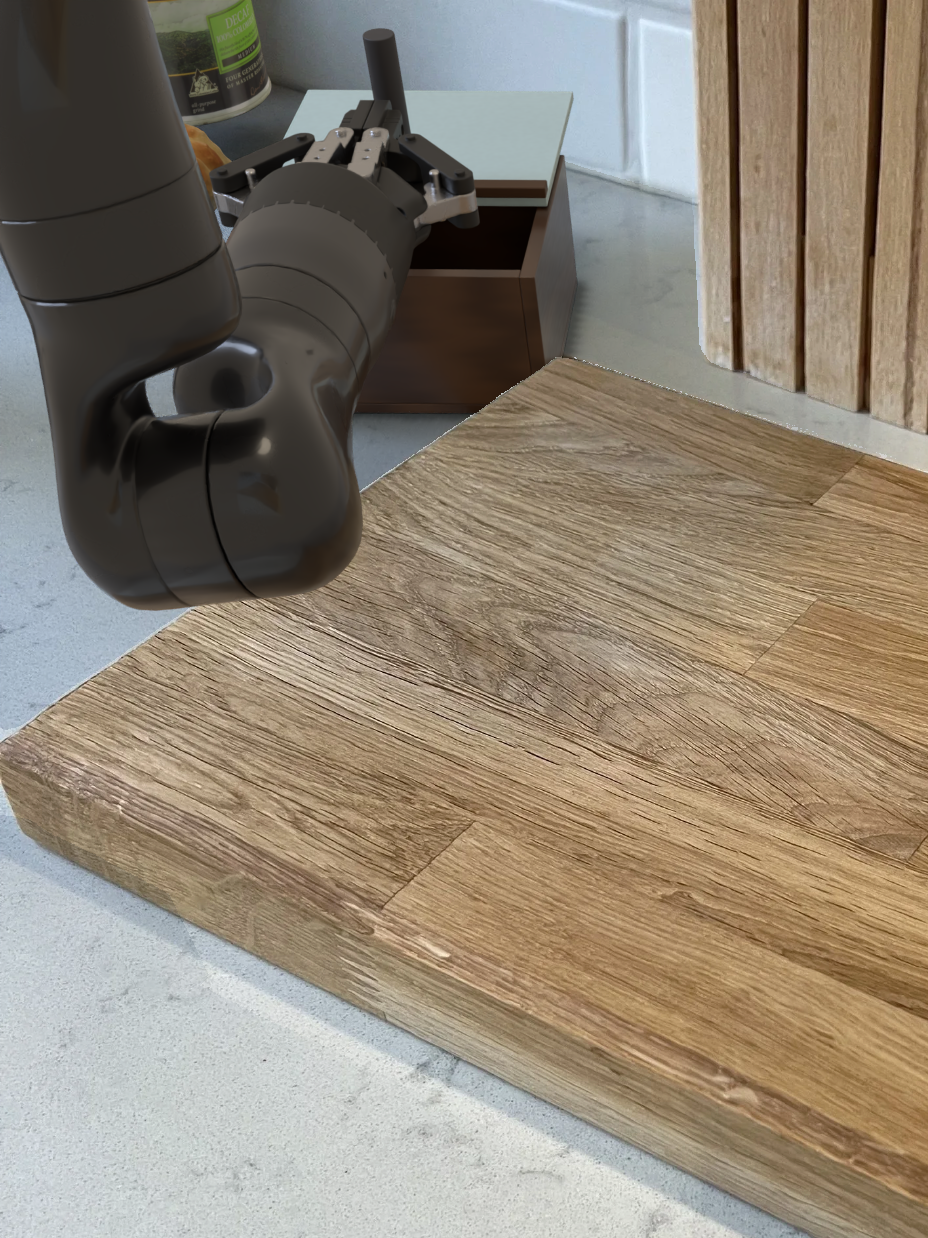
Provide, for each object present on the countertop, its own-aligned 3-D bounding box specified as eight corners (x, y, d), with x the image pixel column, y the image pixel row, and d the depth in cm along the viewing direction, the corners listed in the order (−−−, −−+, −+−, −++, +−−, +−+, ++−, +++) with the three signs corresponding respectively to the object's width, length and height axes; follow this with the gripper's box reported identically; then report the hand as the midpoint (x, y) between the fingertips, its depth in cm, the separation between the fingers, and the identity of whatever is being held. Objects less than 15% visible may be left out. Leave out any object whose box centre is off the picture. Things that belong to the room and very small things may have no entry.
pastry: (198, 255, 98) (180, 190, 96) (80, 253, 99) (59, 188, 96) (243, 179, 105) (228, 116, 102) (133, 178, 105) (114, 115, 102)
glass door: (255, 205, 93) (217, 44, 87) (309, 97, 103) (278, -55, 97) (547, 207, 93) (529, 45, 87) (573, 99, 103) (559, -53, 97)
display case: (254, 412, 94) (218, 275, 88) (309, 283, 104) (279, 152, 98) (551, 414, 94) (534, 277, 88) (577, 285, 104) (564, 154, 98)
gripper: (446, 207, 74) (500, 43, 86) (133, 205, 74) (231, 42, 86) (471, 364, 79) (518, 189, 91) (179, 363, 79) (265, 188, 91)
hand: (378, 118), depth 89 cm, fingers closed
